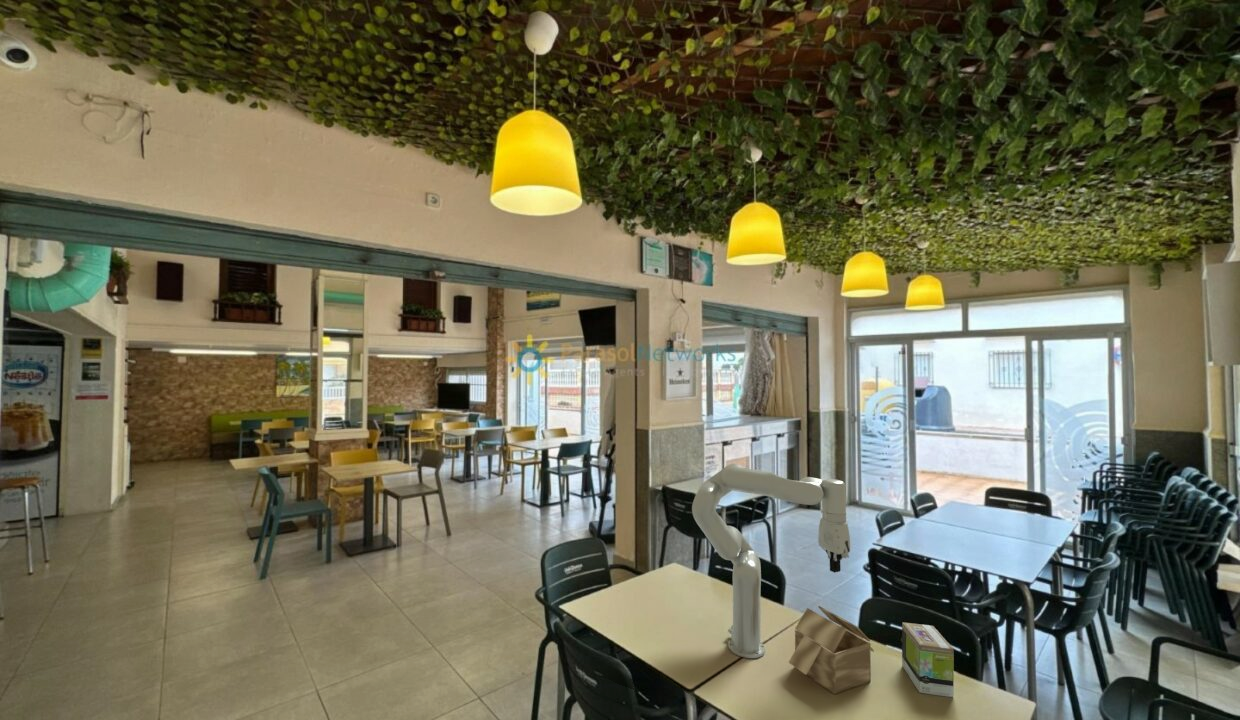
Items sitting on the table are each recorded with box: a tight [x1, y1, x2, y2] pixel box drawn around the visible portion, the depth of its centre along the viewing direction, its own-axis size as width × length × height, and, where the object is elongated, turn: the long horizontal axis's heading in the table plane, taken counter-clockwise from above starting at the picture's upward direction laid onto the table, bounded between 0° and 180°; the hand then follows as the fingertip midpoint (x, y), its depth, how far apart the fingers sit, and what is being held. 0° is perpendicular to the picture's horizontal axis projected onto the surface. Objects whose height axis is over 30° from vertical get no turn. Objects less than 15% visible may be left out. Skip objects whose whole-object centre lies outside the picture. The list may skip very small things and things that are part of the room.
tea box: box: [901, 621, 955, 698], centre depth 156 cm, size 15×10×15 cm, turn 168°
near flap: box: [788, 607, 846, 676], centre depth 156 cm, size 15×18×1 cm
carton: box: [794, 621, 872, 695], centre depth 159 cm, size 16×16×12 cm
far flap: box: [818, 605, 875, 653], centre depth 163 cm, size 15×18×1 cm
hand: (835, 571), depth 167 cm, fingers closed
